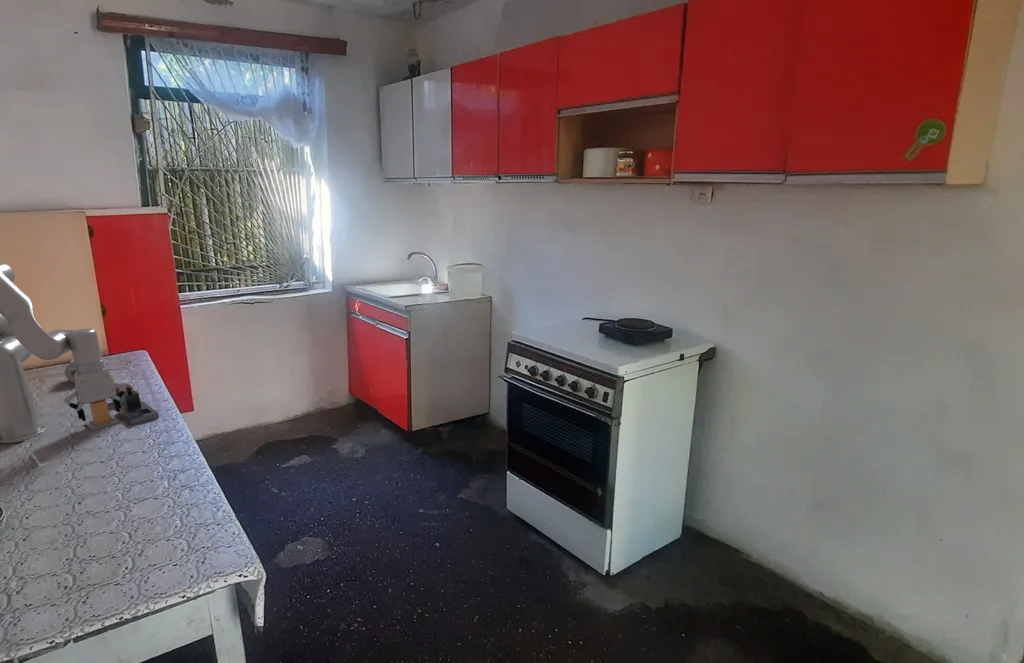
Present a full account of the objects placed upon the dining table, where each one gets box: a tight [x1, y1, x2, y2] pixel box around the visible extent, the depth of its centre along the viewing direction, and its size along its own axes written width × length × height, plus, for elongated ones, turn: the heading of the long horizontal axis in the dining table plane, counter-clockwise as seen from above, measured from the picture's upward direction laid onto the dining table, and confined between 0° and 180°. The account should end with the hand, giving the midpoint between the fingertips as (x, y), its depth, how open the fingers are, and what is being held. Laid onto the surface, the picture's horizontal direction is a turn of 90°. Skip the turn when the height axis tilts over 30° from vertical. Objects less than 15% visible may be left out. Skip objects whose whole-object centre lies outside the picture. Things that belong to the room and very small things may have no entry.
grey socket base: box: [117, 386, 160, 426], centre depth 200 cm, size 16×8×10 cm, turn 48°
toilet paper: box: [64, 359, 76, 384], centre depth 239 cm, size 10×10×10 cm
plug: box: [88, 399, 111, 426], centre depth 194 cm, size 4×4×9 cm
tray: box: [84, 414, 121, 431], centre depth 195 cm, size 8×8×1 cm
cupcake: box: [110, 374, 135, 405], centre depth 213 cm, size 9×8×12 cm
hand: (100, 415), depth 194 cm, fingers open, 9 cm apart
